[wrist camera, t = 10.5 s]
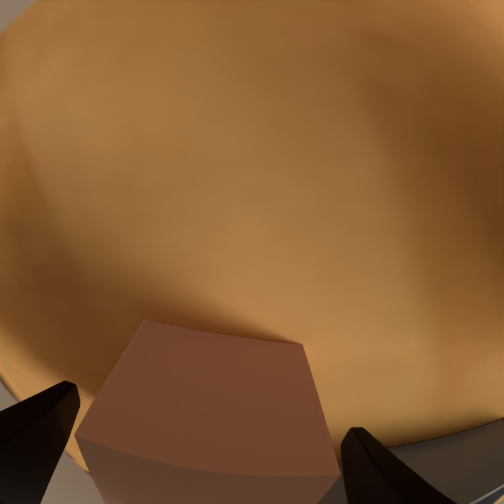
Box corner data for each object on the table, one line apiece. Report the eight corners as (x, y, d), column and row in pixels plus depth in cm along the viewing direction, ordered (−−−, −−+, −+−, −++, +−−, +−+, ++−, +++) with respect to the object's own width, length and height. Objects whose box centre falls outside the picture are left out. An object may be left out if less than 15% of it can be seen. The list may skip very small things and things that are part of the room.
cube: (302, 343, 9) (340, 474, 4) (269, 439, 10) (277, 543, 5) (145, 317, 9) (74, 435, 4) (147, 420, 10) (114, 520, 5)
